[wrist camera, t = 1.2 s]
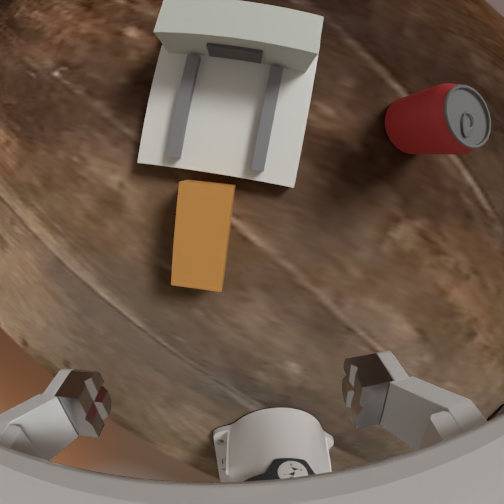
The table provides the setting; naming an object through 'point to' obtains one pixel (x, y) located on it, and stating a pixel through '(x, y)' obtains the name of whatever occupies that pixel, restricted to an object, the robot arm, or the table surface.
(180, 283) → the cardboard box
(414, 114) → the beer can
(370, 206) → the table surface
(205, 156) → the white l-shaped stand
